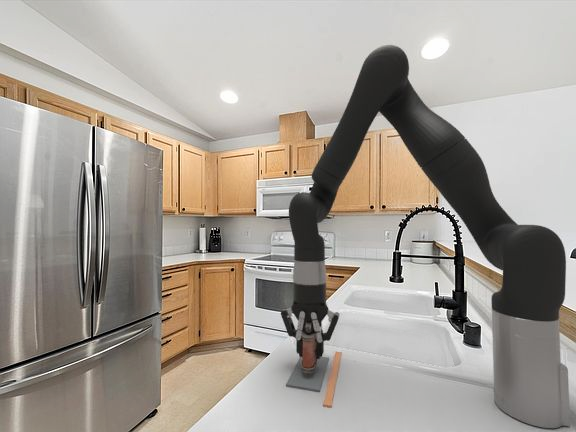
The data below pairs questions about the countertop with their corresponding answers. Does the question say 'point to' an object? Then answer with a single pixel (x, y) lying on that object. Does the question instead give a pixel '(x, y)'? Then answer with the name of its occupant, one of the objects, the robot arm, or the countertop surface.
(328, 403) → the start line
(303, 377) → the mat
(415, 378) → the countertop surface
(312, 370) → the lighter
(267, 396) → the countertop surface
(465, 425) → the countertop surface
